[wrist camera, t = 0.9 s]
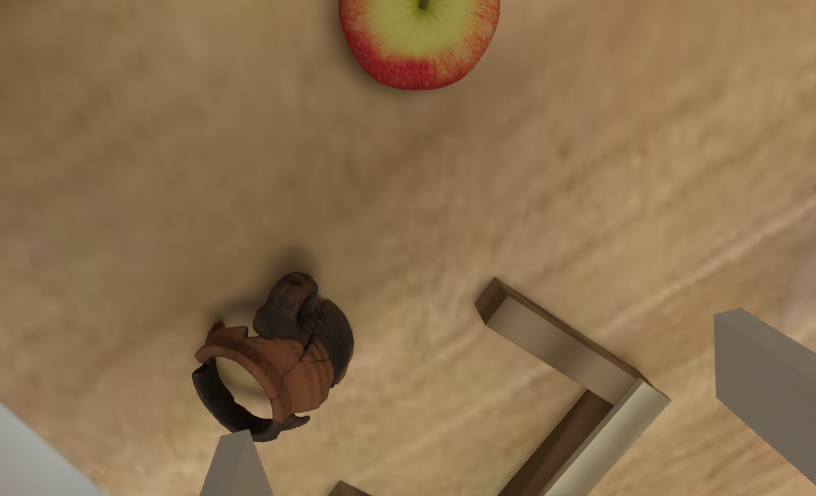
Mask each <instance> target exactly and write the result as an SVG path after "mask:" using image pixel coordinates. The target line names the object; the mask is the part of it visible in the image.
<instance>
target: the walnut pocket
mask: <svg viewBox="0 0 816 496" xmlns="http://www.w3.org/2000/svg"><path fill="white" fill-rule="evenodd" d="M475 306H476V308H477V310H478V312H479V314H480V316H481V318H482V319H483V321H484V323H485V325H486V326H488V327H489V328H491V329H492V330H494V331H496V332H497V333H499V334H500V335H502V336H504V337H505V338H507V339H508V340H510V341H512V342H513V343H515V344H516V345H518V346H520V347H521V348H523V349H524V350H526V351H528V352H529V353H531V354H532V355H534V356H536V357H537V358H539V359H540V360H542V361H544V362H545V363H547V364H548V365H550V366H552V367H553V368H555V369H556V370H558V371H560V372H561V373H563V374H564V375H566V376H568V377H569V378H571V379H572V380H574V381H576V382H577V383H579V384H580V385H582V386H584V387H585V388H587V389H588V390H587V392H586V393H585V394H584V395H583V396H582V398H581V399H580V400H579V401H578V402H577V403H576V405H575V406H574V407H573V408H572V409H571V411H570V412H569V413H568V414H567V415H566V416H565V418H564V419H563V420H562V421H561V422H560V423H559V425H558V426H557V427H556V428H555V429H554V431H553V432H552V433H551V434H550V435H549V436H548V438H547V439H546V440H545V441H544V442H543V444H542V445H541V446H540V447H539V448H538V449H537V451H536V452H535V453H534V454H533V455H532V457H531V458H530V459H529V460H528V461H527V462H526V464H525V465H524V466H523V467H522V468H521V469H520V471H519V472H518V473H517V474H516V475H515V477H514V478H513V479H512V480H511V481H510V482H509V484H508V485H507V486H506V487H505V488H504V490H503V491H502V492H501V493H500V494H499V495H498V496H587V495H588V493H589V492H590V491H591V490H592V489H593V488H594V487H595V486H596V484H597V483H598V482H599V481H600V480H601V479H602V478H603V477H604V475H605V474H606V473H607V472H608V471H609V470H610V469H611V468H612V467H613V465H614V464H615V463H616V462H617V461H618V460H619V459H620V458H621V456H622V455H623V454H624V453H625V452H626V451H627V450H628V449H629V448H630V446H631V445H632V444H633V443H634V442H635V441H636V440H637V439H638V437H639V436H640V435H641V434H642V433H643V432H644V431H645V430H646V428H647V427H648V426H649V425H650V424H651V423H652V422H653V421H654V420H655V418H656V417H657V416H658V415H659V414H660V413H661V412H662V411H663V409H664V408H665V407H666V406H667V405H668V404H669V403H670V402H671V401H672V400H671V399H670V398H669V397H668V396H667V395H665V394H664V393H662V392H661V391H659V390H657V389H656V388H655V387H654V386H653V385H652V384H651V383H650V382H649V381H648V380H647V379H646V378H645V377H644V376H643V375H642V374H641V373H640V372H639V371H637V370H636V369H634V368H633V367H631V366H630V365H628V364H627V363H625V362H624V361H622V360H621V359H619V358H617V357H616V356H614V355H613V354H611V353H610V352H608V351H607V350H605V349H604V348H602V347H601V346H599V345H598V344H596V343H595V342H593V341H592V340H590V339H588V338H587V337H585V336H584V335H582V334H581V333H579V332H578V331H576V330H575V329H573V328H572V327H570V326H569V325H567V324H566V323H564V322H563V321H561V320H559V319H558V318H556V317H555V316H553V315H552V314H550V313H549V312H547V311H546V310H544V309H543V308H541V307H540V306H538V305H537V304H535V303H534V302H532V301H530V300H529V299H527V298H526V297H524V296H523V295H521V294H520V293H518V292H517V291H515V290H514V289H512V288H511V287H509V286H508V285H506V284H505V283H503V282H501V281H500V280H498V279H497V278H494V280H493V281H492V282H491V284H490V285H489V286H488V288H487V289H486V290H485V292H484V293H483V294H482V295H481V297H480V298H479V299H478V301H477V302H476V303H475ZM329 496H370V495H368V494H366V493H364V492H362V491H360V490H358V489H356V488H354V487H352V486H350V485H348V484H346V483H344V482H342V481H340V482H339V483H338V485H337V486H336V487H335V489H334V490H333V491H332V493H331V494H330V495H329Z"/></svg>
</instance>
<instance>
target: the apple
mask: <svg viewBox="0 0 816 496" xmlns="http://www.w3.org/2000/svg"><path fill="white" fill-rule="evenodd" d="M499 14H500V1H499V0H339V16H340V22H341V26H342V30H343V33H344V36H345V38H346V40H347V43H348V45H349V47H350V49H351V51H352V53H353V54H354V56H355V58H356V59H357V61H358V62H359V64H360V65H361V66H362V68H363V69H364V70H365V71H366V72H367V73H368V74H369V75H370V76H371V77H372V78H373V79H375V80H376V81H378V82H380V83H382V84H384V85H387V86H389V87H393V88H398V89H404V90H430V89H436V88H441V87H445V86H448V85H450V84H453V83H455V82H457V81H459V80H460V79H462V78H463V77H464V76H465V75H466V74H468V73H469V72H470V71H471V69H472V68H473V67H474V66H475V65H476V64H477V62H478V61H479V60H480V58H481V57H482V55H483V54H484V52H485V51H486V49H487V47H488V45H489V44H490V42H491V39H492V37H493V35H494V32H495V30H496V27H497V23H498V20H499Z"/></svg>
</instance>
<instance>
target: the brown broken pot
mask: <svg viewBox="0 0 816 496" xmlns="http://www.w3.org/2000/svg"><path fill="white" fill-rule="evenodd" d="M317 292H318V285H317V284H316V282H315V281H314V280H313V278H312V277H311V276H310V275H308V274H303V273H300V272H298V273H297V272H294V273H290V274H288V275H286V276H284V277H283V278H282V279H281V280H280V281H278V282H277V284H276V285H275V286H274V287H273V289H272V291H271V292H270V294H269V296H268V298H267V300H266V302H265V305H264V306H262V307H260V308H259V309H258V310H257V313H256V316H255V318H254V320H253V328H254V330H255V332H256V333H258V334H259V336H255V337H248V328H247V327H246V326H240V327H232V328H231V327H229V328H225V327H224V323H223V321H221V320H220V321H219V322H218V323H215V324H214V325H213V328H212V329H211V330H210V331H209V332H208V336H207V338H206V341H205V345H204V346H202V347H201V348H200V349H199V350H198V351H197V353H196V354H195V357H196V358H197V360H198V361H199V362H200V363H203V365H202V366H201V367H200V368H198V369H196V370H195V371H194V372H193V373H192V379H193V383H194V386H195V388H196V391H197V393H198V395H199V397H200V399H201V401H202V402H203V404H204V405H205V407H206V408H207V409H208V410H209V412H211V413H212V414H213V416H214V417H215V418H216V419H217V420H218V421H219V423H220V424H222V425H223V426H225V427H226V428H227V429H228V430H229V431H231V432H232V433H235V432H239V431H244V430H248V429H249V431H250V434H251V436H252V439H253V441H254V442H267V441H271V440H274V439H277V436H278V435H279V434H280V432H281V431H286V430H290V429H294V428H296V427H300V426H302V425H304V424H306V423H307V422H308V421H309V419H310V416H304V417H298V416H296V415H295V414H294V413H302V412H305V411H311V410H314V409H317V408H319V407H320V405H321V404H322V403H323V402H324V401H325V400H326V399H327V397H328V393H329V389H330V388H333V387H334V385H335V384H339V382H340V381H341V380H342V379H343V378H344V376H345V374H346V371H347V367H348V364H349V362H350V360H351V358H352V355H353V348H354V347H353V345H354V341H353V336H352V331H351V328H350V326H349V324H348V321H347V319H346V318H345V316H344V314H343V313H342V312H341V311H340V310H339V309H338V308H337V307H336V306H335V305H334V304H333V303H332V302H331V301H330V300H327V301H326V302H325V303H324V304H323V305H322V306H321V307H320V303H319V301H318V297H317ZM303 333H307V334H310V335H311V337H310V339H309V341H308V343H307V346H306V347H304V345H303V342H302V341H301V340H300V339H299V338H300V337H301V336H302V334H303ZM215 356H218V357H224V358H227V359H231V360H233V361H236V362H237V363H239V364H240V365H241V366H243V367H244V368H245V369H246V370H247V371H248V372H249V373H251V375H252V376H253V377H254V378H255V379H256V380H257V381H258V382H259V383H260V385H261V386H262V388H263V389H264V391H265V392H266V394H267V396H268V398H269V399H270V403H271V407H272V412H273V419H263V418H259V417H257V416H254V415H252V414H251V413H250V412H249V411H247V410H246V409H245V408H244V407H242V406H241V405H239V404H237V403H236V402H234V397H233V395H232V394H231V393H230V391H229V390H228V389H227V388H226V387H225V385H224V384H223V382H222V381H221V379H220V377H219V374H218V371H217V367H216V360H215Z"/></svg>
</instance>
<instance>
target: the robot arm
mask: <svg viewBox="0 0 816 496" xmlns="http://www.w3.org/2000/svg"><path fill="white" fill-rule="evenodd" d="M714 338H715V377H716V398H717V399H719V400H720V401H721V402H722V403H723V404H724V405H725V406H727V407H728V408H729V409H730V410H731V411H732V412H733V413H734V414H736V415H737V416H738V417H739V418H740V419H741V420H742V421H743V422H745V423H746V424H747V425H748V426H749V427H750V428H751V429H753V430H754V431H755V432H756V433H757V434H758V435H759V436H760V437H762V438H763V439H764V440H765V441H766V442H767V443H768V444H769V445H771V446H772V447H773V448H774V449H775V450H776V451H777V452H779V453H780V454H781V455H782V456H783V457H784V458H785V459H786V460H788V461H789V462H790V463H791V464H792V465H793V466H794V467H795V468H797V469H798V470H799V471H800V472H801V473H802V474H803V475H805V476H806V477H807V478H808V479H809V480H810V481H811V482H812V483H814V484H815V485H816V353H814V352H813V351H811V350H809V349H808V348H806V347H804V346H803V345H801V344H799V343H798V342H796V341H794V340H793V339H791V338H789V337H788V336H786V335H784V334H783V333H781V332H779V331H778V330H776V329H774V328H773V327H771V326H769V325H768V324H766V323H764V322H763V321H761V320H759V319H758V318H756V317H754V316H753V315H751V314H749V313H748V312H746V311H744V310H743V309H741V308H738V309H734V310H730V311H726V312H722V313H718V314H714ZM200 496H274V494H273V492H272V489H271V487H270V484H269V481H268V479H267V476H266V473H265V471H264V468H263V465H262V463H261V460H260V458H259V455H258V452H257V450H256V447H255V444H254V442H253V439H252V436H251V434H250V431H249V429H248V430H244V431H239V432H235V433H231V434H227V435H223V436H221V437H220V440H219V443H218V445H217V448H216V451H215V454H214V457H213V459H212V462H211V465H210V468H209V471H208V473H207V476H206V479H205V482H204V485H203V487H202V490H201V493H200Z"/></svg>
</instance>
